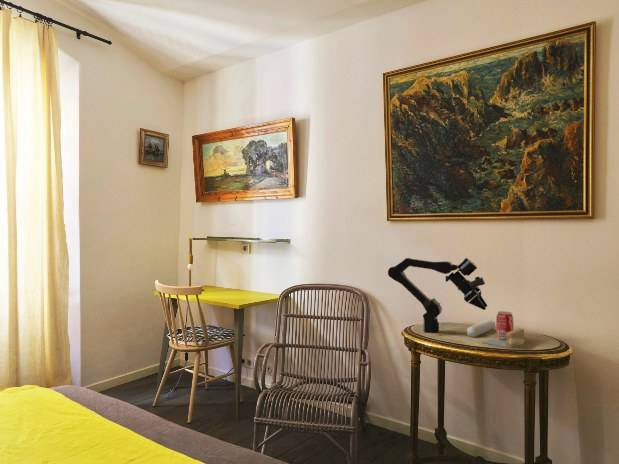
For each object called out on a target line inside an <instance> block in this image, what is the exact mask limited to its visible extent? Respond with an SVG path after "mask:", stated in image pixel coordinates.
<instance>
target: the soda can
mask: <svg viewBox="0 0 619 464" xmlns="http://www.w3.org/2000/svg"><path fill="white" fill-rule="evenodd" d="M495 328H496V329H495V330H496V337H497V338H498V340H502V341H506V333H508V332H511V331H514V316H513V313H512V312H511V311H504V310H503V311H498V312H497V314H496V321H495Z"/></svg>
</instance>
